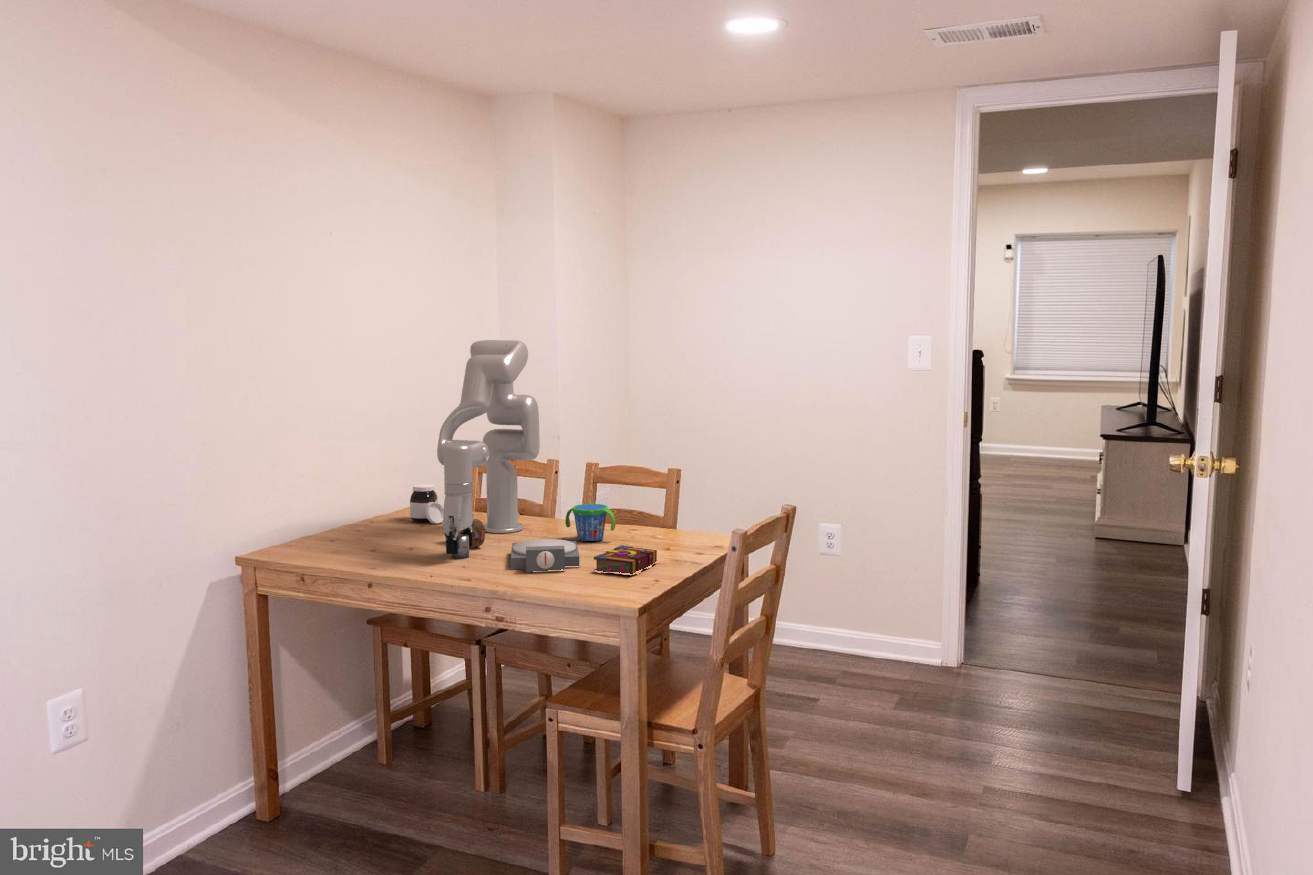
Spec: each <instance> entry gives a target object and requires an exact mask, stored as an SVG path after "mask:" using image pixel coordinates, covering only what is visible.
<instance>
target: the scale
mask: <svg viewBox="0 0 1313 875" xmlns="http://www.w3.org/2000/svg"><path fill="white" fill-rule="evenodd" d="M577 543H578V542H577V541H575V540H574V541H573V540H572V541H570V540H564V539H555V538H541V539H537V538H536V539H528V540H524V541H520V542H512V543H511V550H510V570H526V572H533V571H548V570H561V569H563V570H564V569H565V570H566V568H565V566H579V567H580V552H579V548H578V544H577Z"/></svg>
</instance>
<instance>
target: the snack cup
mask: <svg viewBox="0 0 1313 875" xmlns="http://www.w3.org/2000/svg"><path fill="white" fill-rule="evenodd" d="M571 513H573V516H574V522H575V529H576V534H577V539H578V540H579V541H580V540H581V541H580V542H583V541H596V542H599V541H598V540H600V541H602V540H603V539H604V534H605V528H606V518H607V514H608V515H609V517H610V520H611V525H610V531H611V532H613V531H614V530H615V529H616V523H617V522H616V518H615V514H614V513H613V511H612V510H610V509H609V508H608V505H606V504H602V503H583V504H582V503H581V504H577V505H574V506H572V508H570V509H568V510H567V512H566V515H565V520H564V521H565V527H566V528H570V527H571V521H570V516H571Z"/></svg>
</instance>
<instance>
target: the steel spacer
mask: <svg viewBox="0 0 1313 875" xmlns="http://www.w3.org/2000/svg"><path fill="white" fill-rule="evenodd" d="M456 540H458V554H450V558H451V559H452V560H467V559H469V558H470V548H469V535H466V534H458V535H457V538H456Z"/></svg>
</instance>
